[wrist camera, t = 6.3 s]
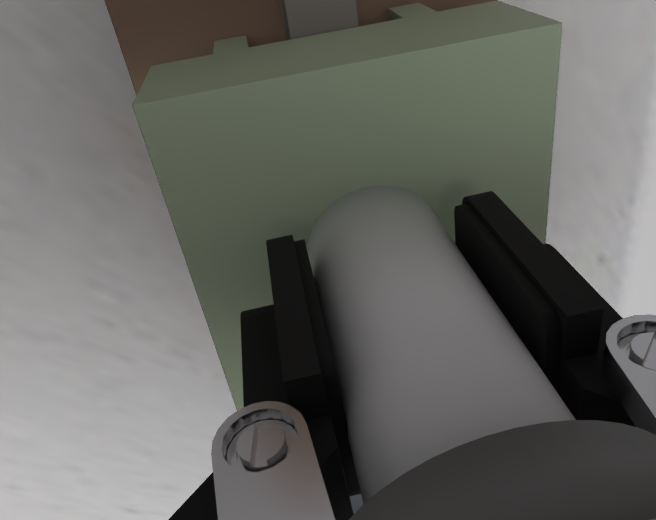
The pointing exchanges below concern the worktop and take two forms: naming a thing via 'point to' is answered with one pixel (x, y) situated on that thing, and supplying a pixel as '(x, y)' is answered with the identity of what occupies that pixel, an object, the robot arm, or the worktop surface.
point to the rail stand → (237, 30)
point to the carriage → (394, 248)
